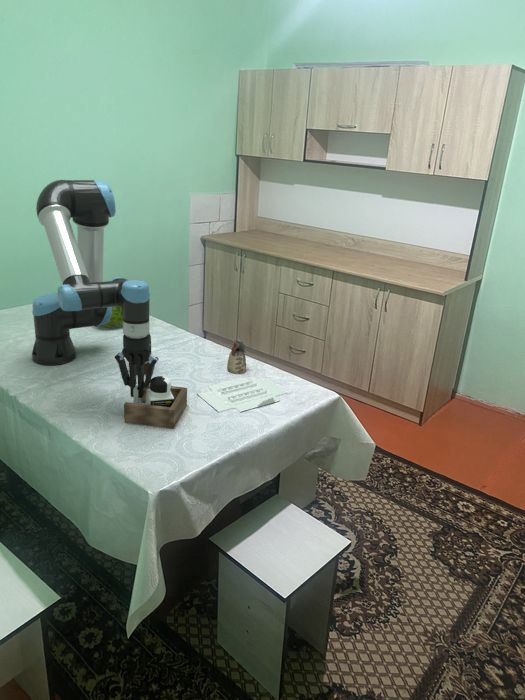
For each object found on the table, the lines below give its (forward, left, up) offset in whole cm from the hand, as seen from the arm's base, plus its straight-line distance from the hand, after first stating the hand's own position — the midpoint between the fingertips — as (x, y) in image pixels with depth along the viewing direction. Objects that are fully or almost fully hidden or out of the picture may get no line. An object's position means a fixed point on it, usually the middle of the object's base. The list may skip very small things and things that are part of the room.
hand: (137, 406), depth 163 cm
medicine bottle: (+7, 0, -2) cm, 7 cm away
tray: (+30, +20, -3) cm, 36 cm away
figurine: (+25, +39, -2) cm, 46 cm away
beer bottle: (-8, +29, -2) cm, 30 cm away
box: (+6, +1, -2) cm, 6 cm away
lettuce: (-39, +73, -2) cm, 83 cm away
